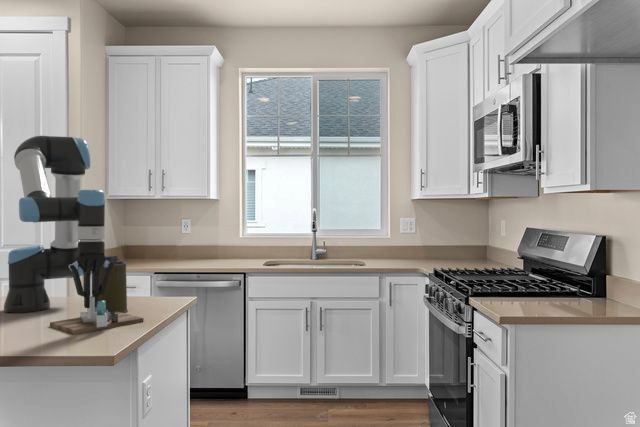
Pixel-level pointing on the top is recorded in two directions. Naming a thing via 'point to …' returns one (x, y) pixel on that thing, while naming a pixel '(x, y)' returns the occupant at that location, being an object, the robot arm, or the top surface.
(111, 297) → the canister
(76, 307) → the top surface
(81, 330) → the board
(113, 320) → the dowel
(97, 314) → the square loop handle
